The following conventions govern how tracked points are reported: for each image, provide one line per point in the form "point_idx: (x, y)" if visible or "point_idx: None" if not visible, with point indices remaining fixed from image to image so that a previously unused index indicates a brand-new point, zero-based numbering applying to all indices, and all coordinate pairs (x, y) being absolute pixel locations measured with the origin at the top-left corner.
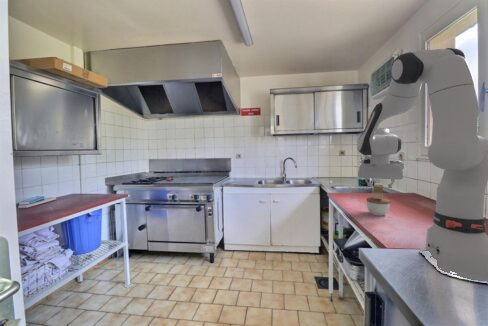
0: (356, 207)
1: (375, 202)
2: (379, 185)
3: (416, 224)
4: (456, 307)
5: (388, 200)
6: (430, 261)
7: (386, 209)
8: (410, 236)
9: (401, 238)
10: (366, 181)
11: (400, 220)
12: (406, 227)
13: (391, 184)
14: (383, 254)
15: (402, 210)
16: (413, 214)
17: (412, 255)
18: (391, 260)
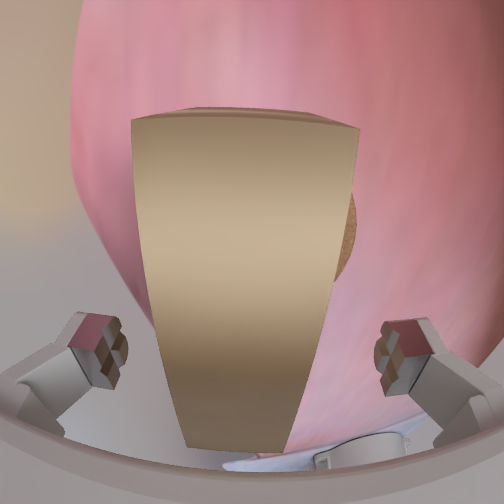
0: (103, 62)
1: None
2: (249, 402)
3: (408, 305)
4: None
5: (341, 246)
6: None
7: None
8: (330, 412)
9: (302, 427)
10: (54, 405)
11: (362, 274)
12: (351, 356)
13: (422, 395)
14: (253, 468)
15: (421, 17)
16: (463, 108)
17: (299, 461)
18: None
